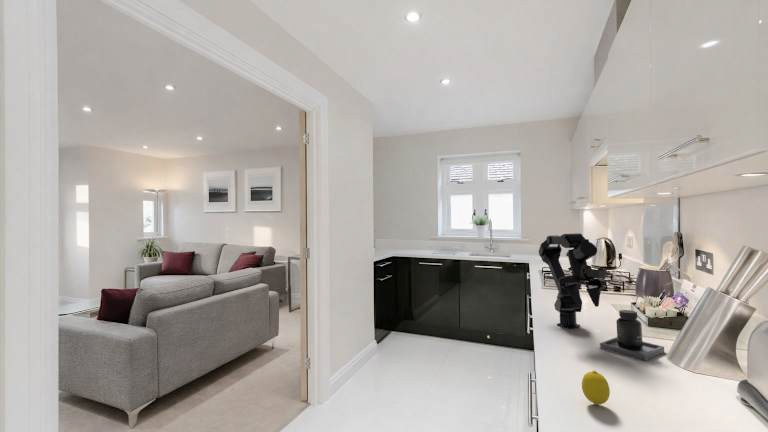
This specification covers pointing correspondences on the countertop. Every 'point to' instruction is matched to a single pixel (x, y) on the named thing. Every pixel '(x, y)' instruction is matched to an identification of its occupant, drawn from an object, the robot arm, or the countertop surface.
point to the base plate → (644, 354)
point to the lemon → (595, 388)
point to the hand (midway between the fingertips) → (588, 305)
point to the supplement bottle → (629, 331)
